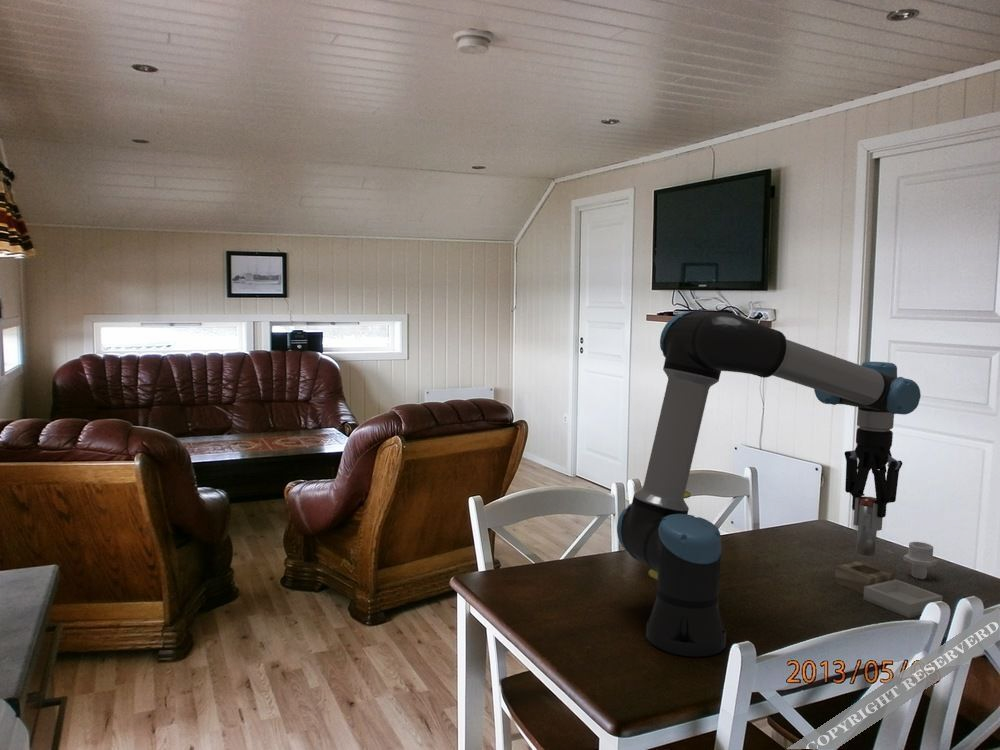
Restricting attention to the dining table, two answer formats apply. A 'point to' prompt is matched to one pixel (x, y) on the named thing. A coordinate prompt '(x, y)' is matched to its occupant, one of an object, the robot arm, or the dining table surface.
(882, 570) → the socket block
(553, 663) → the dining table surface
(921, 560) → the pipe fitting
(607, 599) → the dining table surface
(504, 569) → the dining table surface
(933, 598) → the dish
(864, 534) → the grey tall cylinder
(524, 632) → the dining table surface
